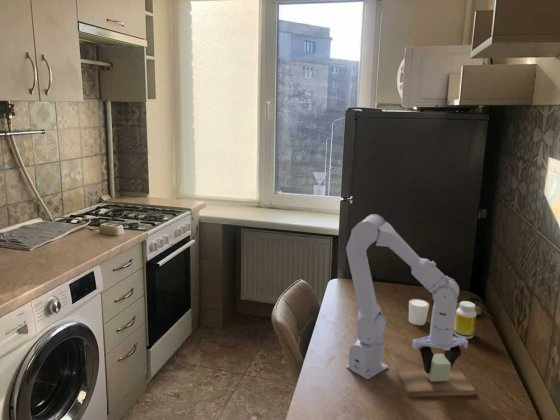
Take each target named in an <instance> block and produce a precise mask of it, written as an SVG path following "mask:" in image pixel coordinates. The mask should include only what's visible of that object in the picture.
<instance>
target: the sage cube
mask: <svg viewBox="0 0 560 420" xmlns="http://www.w3.org/2000/svg"><path fill="white" fill-rule="evenodd" d="M433 354H434V356H433V358H432V362H431V368H430V373H428V374H427V373H426V372H425V370H424V366H423V368H422V369H423V370H422V371H424V373H425V374H426V375H427V377H428V378H429V380H430V381H449V376H450V371H451V370H450V368H451V369H452V367H451V363H450V362H449V361H448V360H447V358H446V357H445V354H443V353H433Z"/></svg>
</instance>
